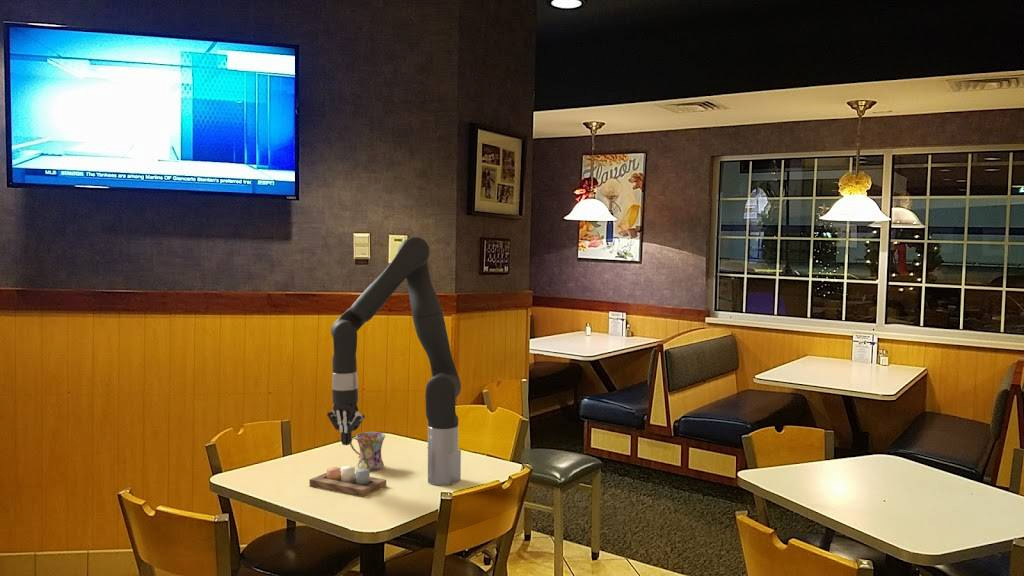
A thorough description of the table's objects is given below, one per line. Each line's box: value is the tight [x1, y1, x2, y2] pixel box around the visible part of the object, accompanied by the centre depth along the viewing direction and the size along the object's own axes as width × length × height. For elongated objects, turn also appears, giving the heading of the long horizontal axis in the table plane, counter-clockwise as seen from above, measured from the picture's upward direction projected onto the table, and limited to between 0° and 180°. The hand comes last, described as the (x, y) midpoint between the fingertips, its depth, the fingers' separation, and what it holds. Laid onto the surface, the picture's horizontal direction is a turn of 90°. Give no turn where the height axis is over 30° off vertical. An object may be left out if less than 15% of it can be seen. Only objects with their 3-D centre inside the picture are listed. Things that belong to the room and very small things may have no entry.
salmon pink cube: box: [326, 466, 341, 480], centre depth 239 cm, size 4×4×4 cm
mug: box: [349, 431, 386, 471], centre depth 256 cm, size 12×9×11 cm
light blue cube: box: [355, 468, 371, 486], centre depth 234 cm, size 4×4×4 cm
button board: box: [308, 470, 387, 498], centre depth 237 cm, size 20×11×2 cm, turn 62°
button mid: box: [340, 465, 356, 483], centre depth 237 cm, size 4×4×4 cm
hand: (346, 444), depth 237 cm, fingers closed
